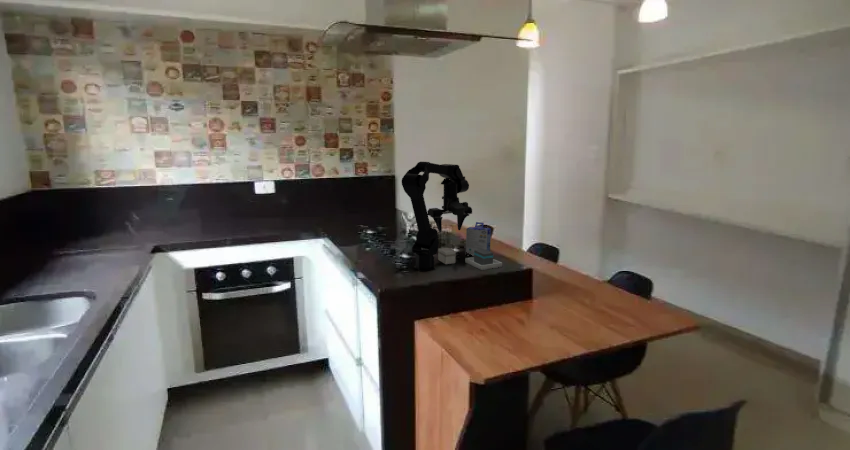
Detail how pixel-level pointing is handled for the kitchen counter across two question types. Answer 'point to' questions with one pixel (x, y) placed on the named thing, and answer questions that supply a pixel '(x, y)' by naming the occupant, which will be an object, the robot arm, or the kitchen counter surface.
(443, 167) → the robot arm
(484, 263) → the block
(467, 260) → the tray
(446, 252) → the block
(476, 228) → the ink cartridge box
